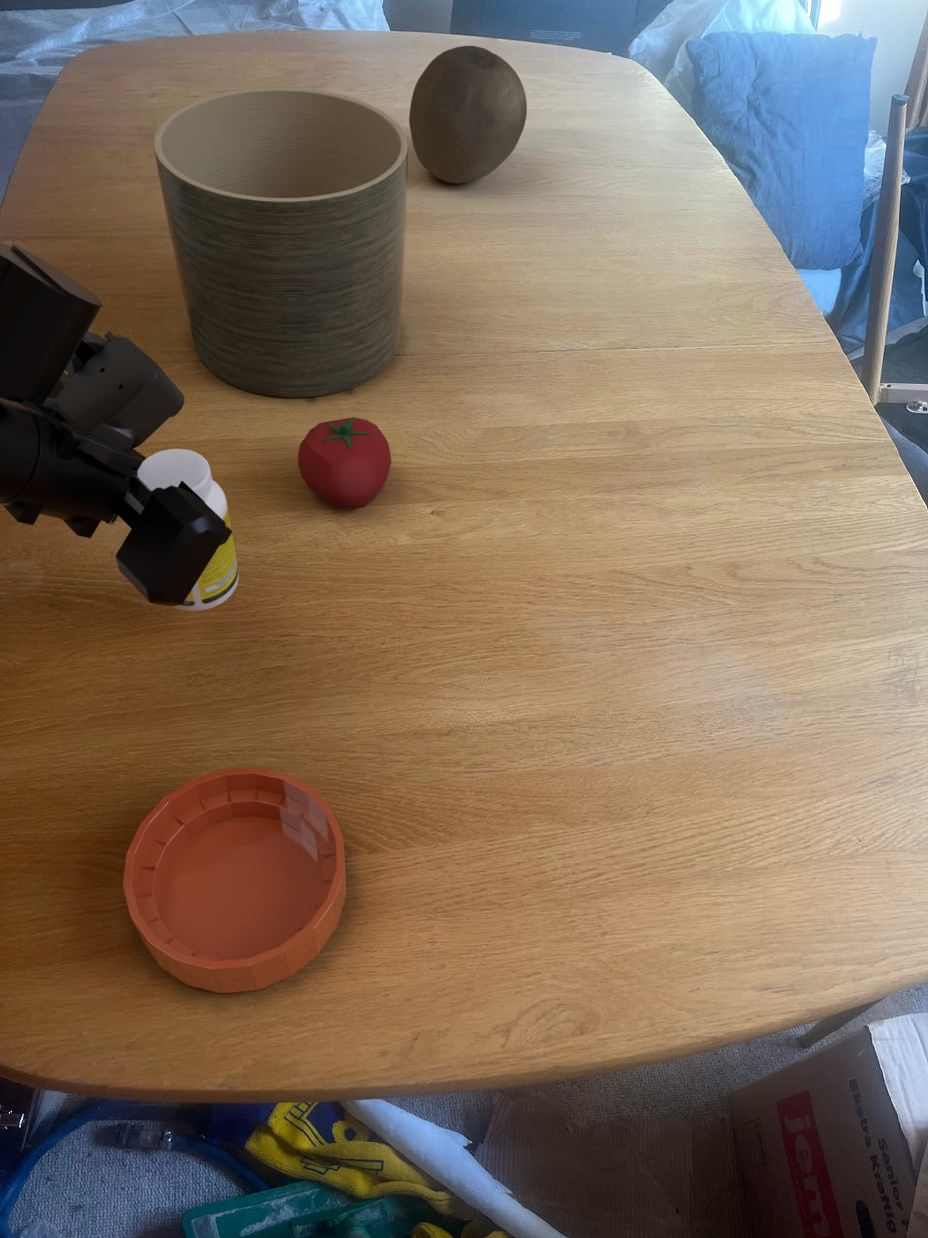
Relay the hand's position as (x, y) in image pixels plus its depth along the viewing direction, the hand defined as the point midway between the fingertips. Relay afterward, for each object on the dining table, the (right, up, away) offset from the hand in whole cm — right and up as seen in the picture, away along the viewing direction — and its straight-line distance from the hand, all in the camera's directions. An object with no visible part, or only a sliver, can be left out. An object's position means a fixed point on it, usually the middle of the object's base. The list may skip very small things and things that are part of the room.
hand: (201, 510), depth 67 cm
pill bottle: (-2, -5, +5) cm, 7 cm away
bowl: (+4, -25, -6) cm, 26 cm away
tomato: (+8, +4, +19) cm, 21 cm away
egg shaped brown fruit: (+18, +50, +58) cm, 79 cm away
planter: (+1, +22, +33) cm, 40 cm away
